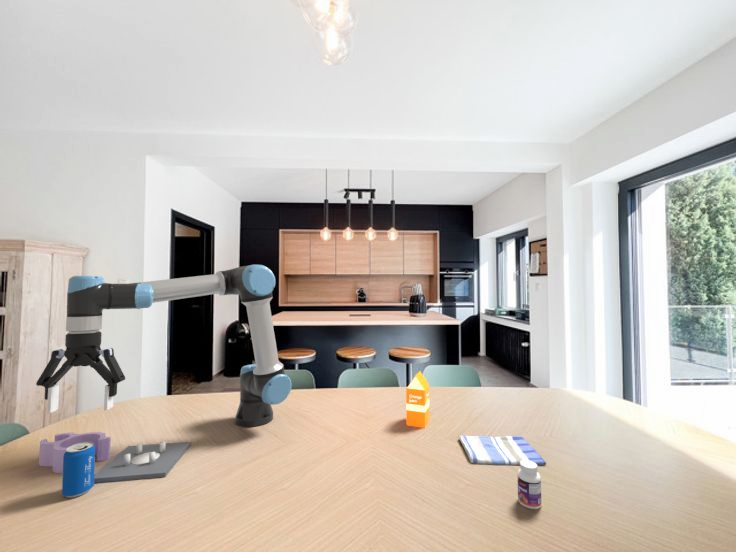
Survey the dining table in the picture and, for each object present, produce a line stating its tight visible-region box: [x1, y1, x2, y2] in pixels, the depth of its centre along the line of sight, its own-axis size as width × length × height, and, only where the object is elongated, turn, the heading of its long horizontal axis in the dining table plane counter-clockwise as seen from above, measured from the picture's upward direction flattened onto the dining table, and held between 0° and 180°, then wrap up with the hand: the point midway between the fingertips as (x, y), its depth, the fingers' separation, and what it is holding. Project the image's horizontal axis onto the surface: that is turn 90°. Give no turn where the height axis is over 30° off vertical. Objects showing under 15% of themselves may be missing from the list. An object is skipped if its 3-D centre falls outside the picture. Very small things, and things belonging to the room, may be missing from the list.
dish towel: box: [458, 434, 547, 466], centre depth 110 cm, size 17×24×3 cm
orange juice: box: [405, 370, 430, 429], centre depth 135 cm, size 8×9×20 cm
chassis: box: [94, 441, 192, 484], centre depth 104 cm, size 20×20×4 cm
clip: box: [38, 431, 112, 474], centre depth 105 cm, size 20×12×7 cm, turn 79°
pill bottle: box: [516, 460, 542, 510], centre depth 84 cm, size 5×5×10 cm
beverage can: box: [61, 442, 96, 499], centre depth 89 cm, size 6×6×12 cm
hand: (80, 410), depth 90 cm, fingers open, 13 cm apart
